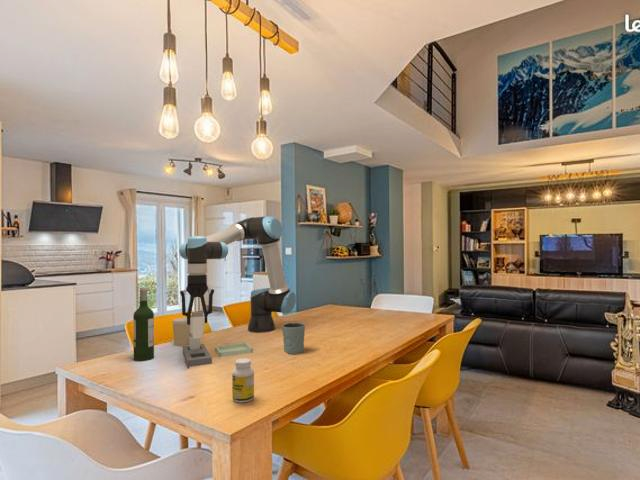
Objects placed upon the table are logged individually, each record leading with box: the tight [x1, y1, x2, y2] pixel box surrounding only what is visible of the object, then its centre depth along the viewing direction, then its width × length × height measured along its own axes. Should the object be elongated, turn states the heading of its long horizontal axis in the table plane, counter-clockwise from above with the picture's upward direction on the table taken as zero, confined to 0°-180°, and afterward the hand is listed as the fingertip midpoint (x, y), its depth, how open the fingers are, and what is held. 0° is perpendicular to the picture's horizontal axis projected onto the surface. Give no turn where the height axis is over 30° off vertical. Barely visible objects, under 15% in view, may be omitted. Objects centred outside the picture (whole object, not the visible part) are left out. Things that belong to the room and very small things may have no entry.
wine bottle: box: [132, 286, 155, 362], centre depth 158 cm, size 8×8×30 cm
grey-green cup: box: [281, 322, 306, 356], centre depth 164 cm, size 10×10×12 cm
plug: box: [191, 310, 204, 339], centre depth 151 cm, size 4×4×10 cm
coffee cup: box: [172, 317, 190, 347], centre depth 181 cm, size 9×9×12 cm
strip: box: [182, 343, 213, 369], centre depth 156 cm, size 9×24×4 cm, turn 25°
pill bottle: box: [231, 357, 255, 403], centre depth 113 cm, size 6×6×12 cm
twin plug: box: [188, 332, 201, 350], centre depth 162 cm, size 4×4×10 cm
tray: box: [214, 341, 253, 358], centre depth 165 cm, size 14×12×2 cm
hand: (197, 331), depth 151 cm, fingers closed on plug, 4 cm apart
